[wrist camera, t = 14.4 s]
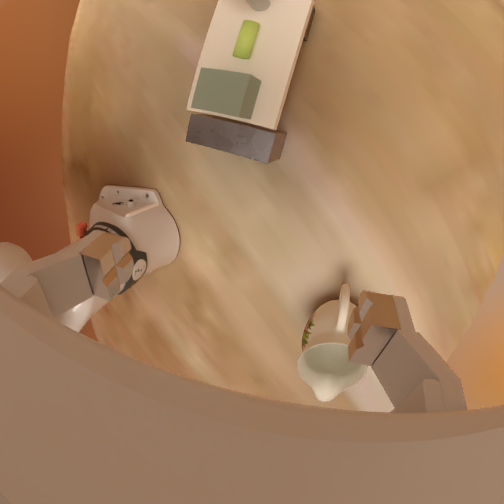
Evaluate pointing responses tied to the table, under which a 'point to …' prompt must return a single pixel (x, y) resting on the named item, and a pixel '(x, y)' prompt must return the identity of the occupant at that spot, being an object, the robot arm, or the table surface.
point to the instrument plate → (249, 59)
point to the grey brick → (238, 133)
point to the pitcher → (329, 349)
